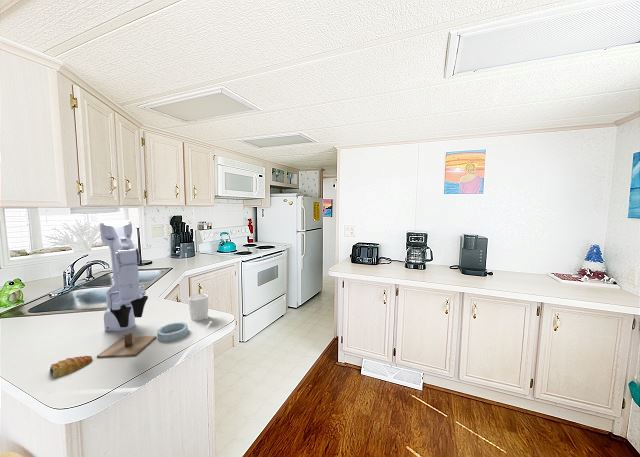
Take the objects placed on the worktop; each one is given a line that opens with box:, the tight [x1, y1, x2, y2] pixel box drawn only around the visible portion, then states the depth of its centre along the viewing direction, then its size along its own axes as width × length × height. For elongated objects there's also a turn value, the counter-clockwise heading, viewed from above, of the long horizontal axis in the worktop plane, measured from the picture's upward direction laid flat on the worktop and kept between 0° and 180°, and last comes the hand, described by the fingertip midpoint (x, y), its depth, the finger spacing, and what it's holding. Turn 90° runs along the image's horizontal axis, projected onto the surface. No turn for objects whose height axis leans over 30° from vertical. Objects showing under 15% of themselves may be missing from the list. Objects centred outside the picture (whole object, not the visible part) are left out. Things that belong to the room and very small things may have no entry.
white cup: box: [187, 293, 209, 322], centre depth 113 cm, size 8×8×10 cm
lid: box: [96, 332, 157, 359], centre depth 89 cm, size 12×12×5 cm
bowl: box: [156, 321, 189, 342], centre depth 98 cm, size 10×10×3 cm
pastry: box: [49, 355, 93, 379], centre depth 78 cm, size 9×7×4 cm
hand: (131, 321), depth 89 cm, fingers open, 7 cm apart
